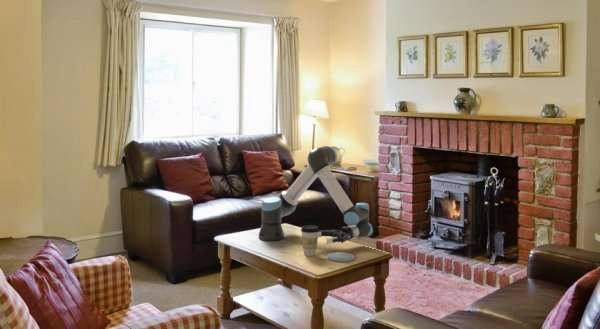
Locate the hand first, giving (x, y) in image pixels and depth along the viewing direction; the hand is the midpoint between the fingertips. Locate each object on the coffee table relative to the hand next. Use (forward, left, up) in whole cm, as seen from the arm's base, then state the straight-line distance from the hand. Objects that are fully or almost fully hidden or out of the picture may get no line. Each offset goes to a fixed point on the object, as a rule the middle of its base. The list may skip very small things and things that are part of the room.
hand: (319, 238), depth 313 cm
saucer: (+8, +12, -8) cm, 17 cm away
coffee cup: (+4, -5, -8) cm, 10 cm away
